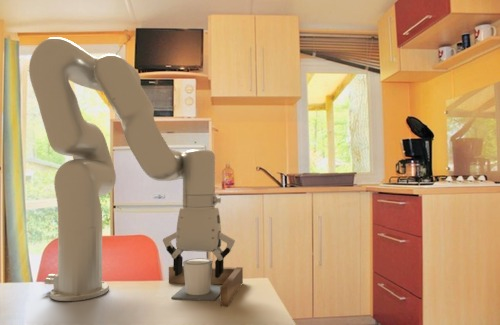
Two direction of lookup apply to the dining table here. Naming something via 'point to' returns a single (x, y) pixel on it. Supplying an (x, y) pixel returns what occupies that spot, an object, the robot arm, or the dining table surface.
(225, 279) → the wooden corner fence
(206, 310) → the dining table surface
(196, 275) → the white cup
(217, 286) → the pad
